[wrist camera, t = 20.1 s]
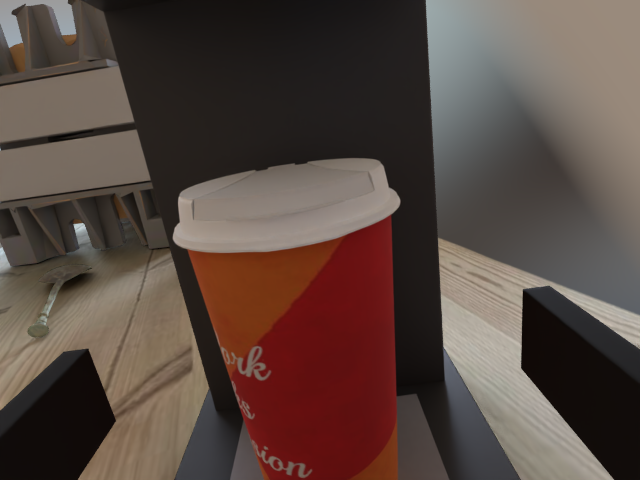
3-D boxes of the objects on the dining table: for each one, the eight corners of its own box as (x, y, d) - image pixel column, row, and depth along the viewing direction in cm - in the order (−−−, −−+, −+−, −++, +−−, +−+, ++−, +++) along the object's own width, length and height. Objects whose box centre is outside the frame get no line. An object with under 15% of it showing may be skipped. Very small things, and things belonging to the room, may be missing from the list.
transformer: (235, 204, 96) (196, 25, 83) (183, 246, 65) (110, -28, 52) (110, 220, 99) (55, 51, 87) (4, 268, 68) (-104, 15, 56)
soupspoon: (98, 272, 60) (51, 286, 57) (90, 252, 59) (42, 266, 56) (74, 326, 40) (1, 351, 38) (62, 298, 39) (-14, 322, 37)
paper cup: (255, 433, 20) (192, 177, 16) (393, 406, 21) (367, 149, 17) (240, 610, 13) (117, 221, 9) (456, 564, 13) (438, 170, 9)
